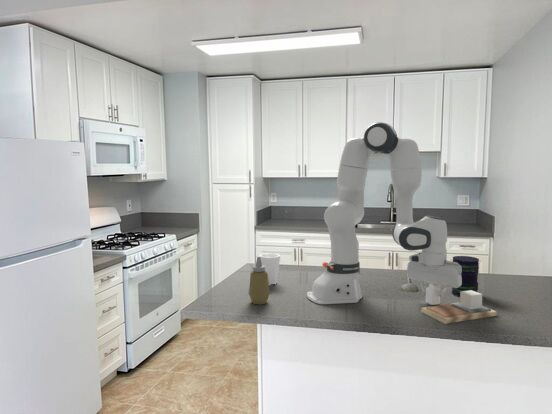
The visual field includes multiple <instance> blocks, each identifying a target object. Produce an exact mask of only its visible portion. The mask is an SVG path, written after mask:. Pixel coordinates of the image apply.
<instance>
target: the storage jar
mask: <svg viewBox="0 0 552 414" xmlns="http://www.w3.org/2000/svg"><path fill="white" fill-rule="evenodd" d="M479 261H480V259H479V258H477V257H475V256H468V255H455V256H452V262H457V263H458V264H460V265H461V267H462V273H461V277H462V285H461V286H460V287H458V288H453V287H451V294H452V295H453V296H456V297H459V298H460V292H461V291H469V290H472V291H475V292H478V291H479V282H478V278H479V277H478V276H479V275H478V274H479V271H480V270H479V269H480V266H479V265H480V263H479ZM458 266H459V265H458ZM478 293H479V292H478Z"/></svg>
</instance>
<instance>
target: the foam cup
mask: <svg viewBox="0 0 552 414" xmlns="http://www.w3.org/2000/svg"><path fill="white" fill-rule="evenodd" d="M258 257H260V258H261V262H262V265H263V266H265V271H266V272H267V274H268V283H269V284H275V285H277V284H278V276H279V269H280V261H281V255H280V254H279V253H275V252H272V253H271V252H270V253H269V252H268V253H267V252H266V253H260V254H259V256H258ZM276 283H277V284H276Z"/></svg>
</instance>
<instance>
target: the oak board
mask: <svg viewBox="0 0 552 414" xmlns="http://www.w3.org/2000/svg"><path fill="white" fill-rule="evenodd" d="M420 309H421V310H420V311H421V313H422V314H425V315H426V316H429V317H430V318H433V319H435V320H437V321H438V322H440V323H443V324H446V325H447V324H453V323H459V322H465V321H472V320H477V319H485V318H490V317H496V316H497V310H494V309H492V308H490V307H486V306H484V305H482V308H478V309H468V308H466V307H463V306H461V305H460V301H459V302H454V303H453V302H452V303H447V304H437V305H431V306H424V307H421V308H420Z"/></svg>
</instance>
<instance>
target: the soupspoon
mask: <svg viewBox="0 0 552 414" xmlns="http://www.w3.org/2000/svg"><path fill="white" fill-rule="evenodd" d="M406 279H407V283H403V284H402V285H401V290H402V291H403V292H409V293H416V292H418V289H419V287H418V286H417V285H416V284H415V283H411V281H410V280H411V279H409V278H408V276H407V275H406Z"/></svg>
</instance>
